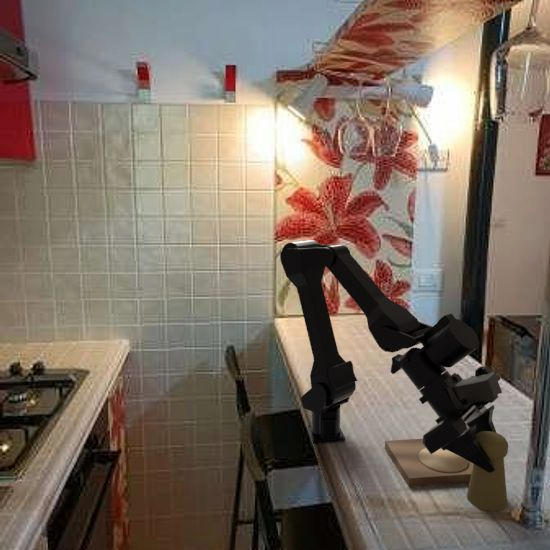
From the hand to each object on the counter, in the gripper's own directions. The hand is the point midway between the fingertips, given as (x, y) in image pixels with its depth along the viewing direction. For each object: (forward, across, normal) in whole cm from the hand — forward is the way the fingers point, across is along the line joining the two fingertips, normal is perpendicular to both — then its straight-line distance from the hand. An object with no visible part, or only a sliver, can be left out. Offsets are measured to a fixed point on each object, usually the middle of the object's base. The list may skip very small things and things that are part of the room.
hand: (498, 464), depth 84 cm
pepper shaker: (+4, 0, +6) cm, 7 cm away
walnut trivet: (-4, +5, +13) cm, 15 cm away
